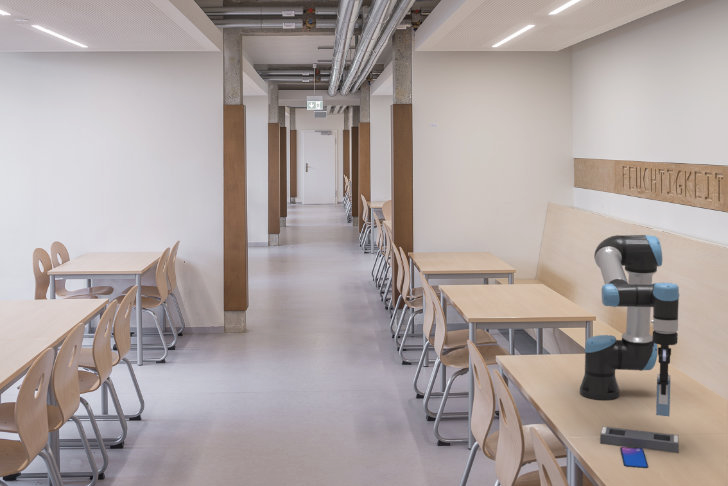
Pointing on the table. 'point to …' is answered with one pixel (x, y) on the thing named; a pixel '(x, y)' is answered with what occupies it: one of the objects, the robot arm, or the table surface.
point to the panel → (639, 439)
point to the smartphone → (633, 457)
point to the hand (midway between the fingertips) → (663, 401)
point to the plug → (663, 408)
